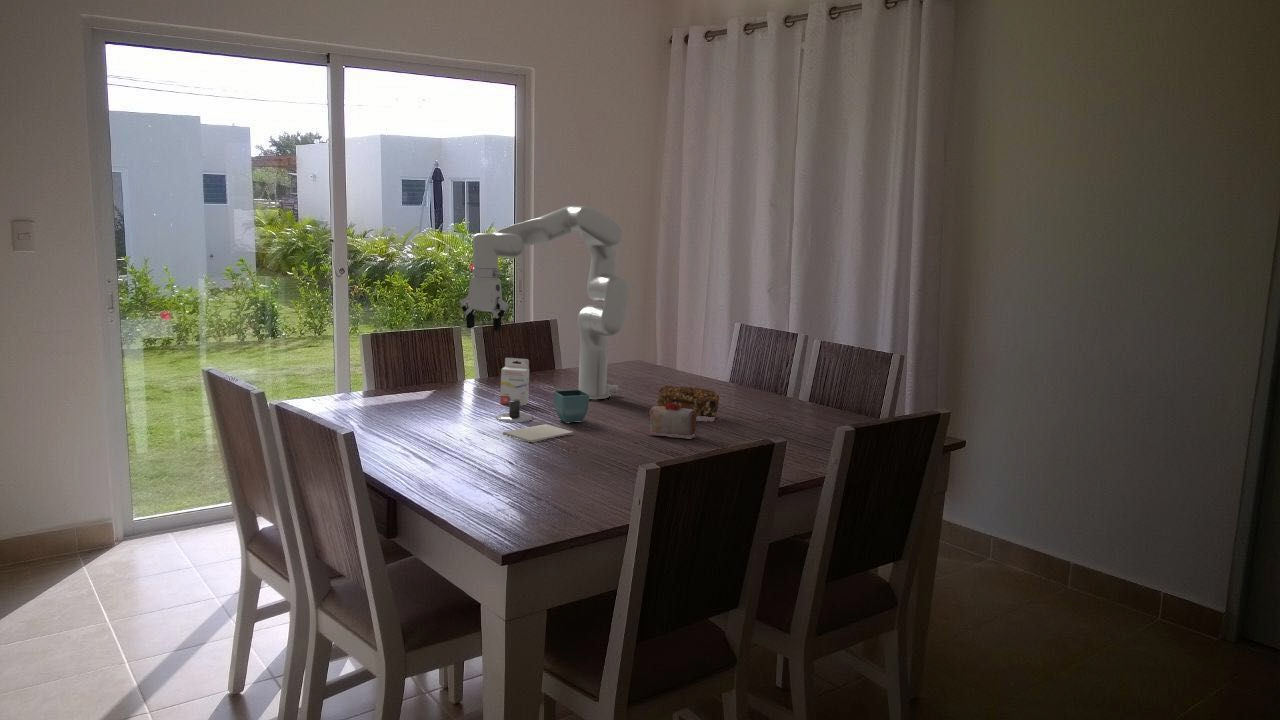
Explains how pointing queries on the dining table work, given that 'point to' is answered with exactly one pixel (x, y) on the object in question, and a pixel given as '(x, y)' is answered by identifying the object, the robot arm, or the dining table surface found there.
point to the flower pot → (571, 404)
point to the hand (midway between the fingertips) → (483, 329)
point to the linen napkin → (536, 432)
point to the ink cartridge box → (515, 381)
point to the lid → (514, 413)
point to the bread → (690, 399)
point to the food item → (673, 419)
